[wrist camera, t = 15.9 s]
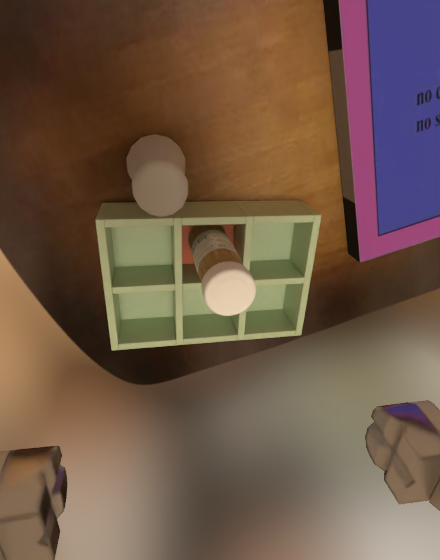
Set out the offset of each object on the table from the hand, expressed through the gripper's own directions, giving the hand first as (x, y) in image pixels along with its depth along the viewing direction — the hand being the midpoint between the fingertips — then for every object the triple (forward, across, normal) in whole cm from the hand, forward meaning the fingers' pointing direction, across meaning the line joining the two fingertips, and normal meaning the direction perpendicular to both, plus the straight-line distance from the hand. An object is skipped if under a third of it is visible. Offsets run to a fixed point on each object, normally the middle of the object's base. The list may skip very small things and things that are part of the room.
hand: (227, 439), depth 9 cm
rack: (+34, -4, +11) cm, 36 cm away
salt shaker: (+34, +1, -1) cm, 34 cm away
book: (+34, -29, -7) cm, 45 cm away
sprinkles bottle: (+33, -4, +7) cm, 34 cm away
